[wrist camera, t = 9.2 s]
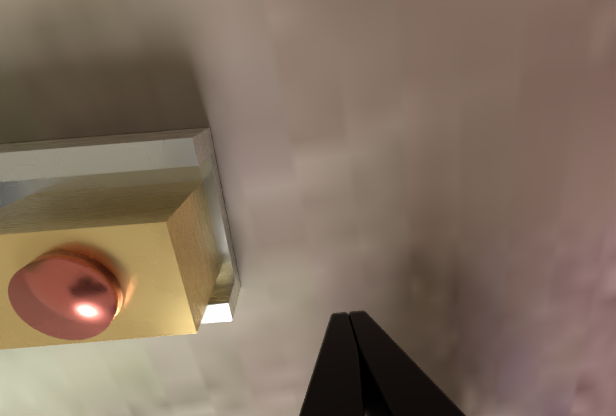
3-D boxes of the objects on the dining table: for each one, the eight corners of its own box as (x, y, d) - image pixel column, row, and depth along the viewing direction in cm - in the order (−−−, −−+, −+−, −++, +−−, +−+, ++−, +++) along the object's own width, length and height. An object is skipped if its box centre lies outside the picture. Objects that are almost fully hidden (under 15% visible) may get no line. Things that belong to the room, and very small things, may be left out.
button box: (202, 180, 13) (157, 231, 9) (221, 268, 15) (191, 346, 10) (33, 193, 13) (-97, 250, 8) (73, 280, 14) (-19, 364, 10)
